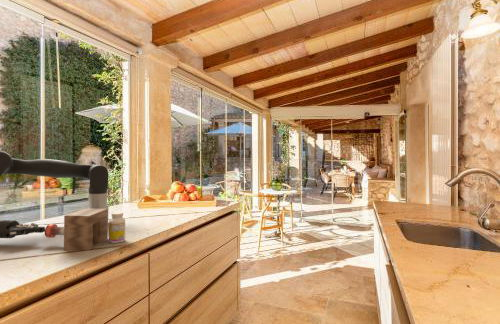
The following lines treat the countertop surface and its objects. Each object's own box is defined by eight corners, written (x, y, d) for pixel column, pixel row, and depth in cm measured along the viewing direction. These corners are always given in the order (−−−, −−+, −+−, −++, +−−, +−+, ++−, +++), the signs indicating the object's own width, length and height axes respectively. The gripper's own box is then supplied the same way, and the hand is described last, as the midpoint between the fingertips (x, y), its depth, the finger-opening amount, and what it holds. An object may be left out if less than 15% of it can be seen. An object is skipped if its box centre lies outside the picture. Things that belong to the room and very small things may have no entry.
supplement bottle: (112, 239, 131) (112, 211, 130) (127, 239, 131) (127, 211, 131) (106, 243, 124) (106, 214, 124) (121, 243, 124) (122, 214, 124)
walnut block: (60, 249, 114) (60, 215, 114) (82, 238, 130) (82, 208, 130) (88, 250, 115) (89, 216, 114) (107, 238, 131) (108, 208, 130)
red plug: (44, 239, 117) (44, 225, 117) (53, 235, 123) (53, 222, 123) (78, 239, 118) (78, 226, 118) (85, 236, 123) (86, 223, 123)
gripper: (-12, 224, 113) (32, 224, 113) (14, 217, 126) (54, 217, 126) (-12, 242, 113) (32, 243, 113) (14, 233, 126) (54, 234, 127)
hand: (43, 229), depth 120 cm, fingers closed
